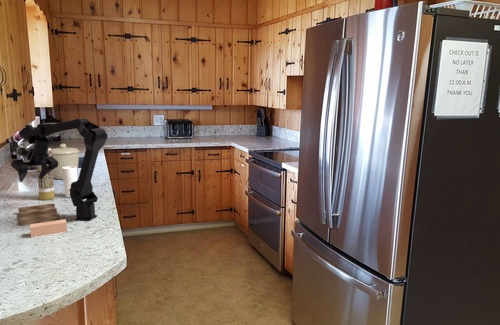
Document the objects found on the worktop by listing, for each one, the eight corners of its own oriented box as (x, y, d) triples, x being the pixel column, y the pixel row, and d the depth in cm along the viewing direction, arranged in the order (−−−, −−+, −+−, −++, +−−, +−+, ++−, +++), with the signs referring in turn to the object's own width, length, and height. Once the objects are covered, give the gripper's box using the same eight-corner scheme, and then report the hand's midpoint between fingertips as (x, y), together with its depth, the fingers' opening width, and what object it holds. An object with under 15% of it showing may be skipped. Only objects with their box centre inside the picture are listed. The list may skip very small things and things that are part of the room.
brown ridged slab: (54, 208, 175) (54, 203, 174) (59, 220, 159) (59, 214, 159) (18, 213, 167) (18, 207, 167) (20, 225, 152) (19, 219, 152)
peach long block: (65, 229, 150) (65, 219, 149) (67, 232, 147) (66, 222, 146) (30, 234, 144) (29, 224, 143) (31, 238, 141) (30, 227, 140)
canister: (73, 181, 227) (70, 146, 223) (42, 180, 227) (39, 145, 223) (86, 175, 245) (84, 142, 241) (58, 174, 245) (55, 141, 241)
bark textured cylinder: (51, 196, 195) (47, 147, 191) (57, 198, 191) (53, 148, 186) (36, 198, 190) (32, 148, 185) (43, 201, 186) (38, 150, 181)
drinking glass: (62, 198, 191) (60, 168, 188) (65, 195, 197) (63, 166, 195) (77, 197, 193) (75, 168, 190) (79, 194, 199) (77, 165, 196)
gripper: (47, 139, 175) (38, 167, 180) (7, 141, 158) (-2, 173, 163) (63, 151, 172) (53, 180, 177) (24, 155, 155) (14, 187, 160)
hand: (30, 180), depth 169 cm, fingers open, 9 cm apart
